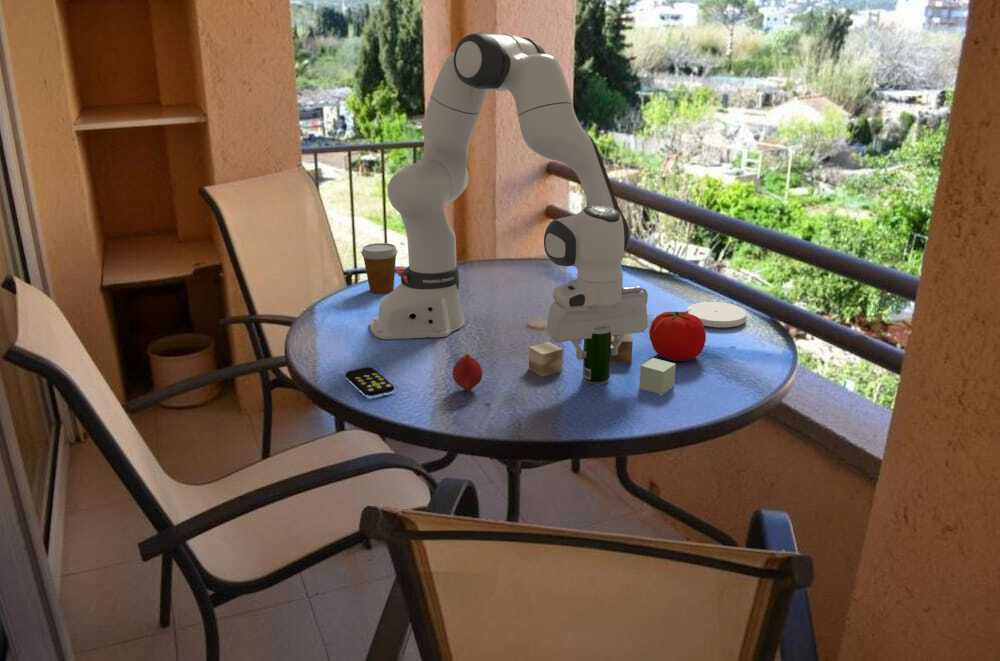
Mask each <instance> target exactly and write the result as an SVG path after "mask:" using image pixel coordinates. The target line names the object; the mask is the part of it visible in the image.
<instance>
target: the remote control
mask: <svg viewBox="0 0 1000 661" xmlns="http://www.w3.org/2000/svg"><path fill="white" fill-rule="evenodd" d="M346 378H347V379H348V380H349V381H351V382H352V383H353V384H354V385H355V386H356V387H357V388H358V389H359V390H361V391H362V392H363V393H364V394H365V395H368V396H375V395H379V394H384V393H389V392H392V391H393V390H394V391H395V386H394V384H392V383H391V382H390V381H389V380H387V379H386V378H385V377H384V376H383V375H382V374H381V373H379V372H378V370H376V369H374V368H373V367H370V366H366V367H361V368H357V369H352V370H348V371H347V372H346V373H345V379H346Z"/></svg>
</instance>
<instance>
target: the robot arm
mask: <svg viewBox="0 0 1000 661" xmlns="http://www.w3.org/2000/svg"><path fill="white" fill-rule="evenodd" d="M567 82H568V81H567V79H566V77H565V74H564V71H563V68H562V66H561V64H560V62H559V61H558V59H557V58H556V57H554V56H553V55H551V54H547V53H546V51H545V49H544V48H543V47H542V46H541V45H540V44H539V43H537V41H535V40H533V39H531V38H528V37H524V36H523V37H521V36H517V35H515V34H509V33H487V32H474V33H470V34H468V35H466V36H464V37H463V38H462V39H460V40H459V41H458V43H457V45H456V47H455V49H454V51H453V52H451V53H450V54H449V55H447V58H446V59H445V61H444V63H443V65H442V67H441V69H440V70H439V73H438V75H437V78H436V81H435V82H434V85H433V88H432V92H431V93H430V98H429V100H428V104H427V107H426V110H425V114H424V118H423V120H422V124H421V133H422V136H423V137H424V138H423V139H424V140H423V153H422V156H421V158H420V159H419V161H418V162H415V163H411V164H408V165H406V166H404V167H402V168H401V169H399V170H398V171H397V172H396V173H395V174H394V175H393V176H392V177H391V178H390V180H389V181H388V184H387V196H388V197H387V198H388V201H389V202H390V204H391V206H392V207H393V209H394V210H396V211H397V212H398V213H399V215H400V218H401V220H402V222H403V226H404V230H405V233H406V240H407V241H406V242H407V254H408V266H407V267H406V268H404V267H403V266H398V267H397V268H395V271H396V272H395V273H396V274H397V276H398V277H400V284H399V285H397V287H394V290H393V291H392V292H390V293H387V294H386V295H385V296H384V297H383V298H382V300H381V301H380V304H379V309H378V315H377V316H373V318H371V320H370V321H369V330H370V332H371V334H373V335H374V336H375V337H376V338H378V339H381V340H401V339H402V340H404V339H405V340H406V339H424V338H425V339H426V337H430V338H443V337H448V336H449V335H451V333H453V332H454V331H456V330H460V329H461V328H463V326H464V325H465V324H466V321H465V318H464V315H463V311H462V308H461V302H460V295H459V290H460V289H459V287H460V271H459V266H458V265H457V241H456V237H457V236H456V233H455V231H454V229H452V228H451V227H450V225H449V222H448V219H447V214H446V212H445V206H446V205H447V204H449V203H451V202H454V201H455V200H457V199H458V198H459V197H460V196H461V195H462V193H464V191H465V190H466V189H467V187H468V185H469V170H468V168H467V165H468V164H467V163H468V156H469V149H470V148H469V147H470V144H471V142H472V138H473V134H474V131H475V128H476V125H477V122H478V119H479V116H480V112H481V110H482V106H483V104H484V100H485V98H486V95H487V94H488V93H489V91H495V92H496V91H497V92H505V91H509V92H510V94H511V95H512V97H513V99H514V103H515V108H516V113H517V118H518V123H519V128H520V132H521V135H522V138H523V140H524V143H525V145H526V147H528V148H529V149H530V150H531V151H532V152H534V153H536V155H538V156H541V157H543V158H546V159H549V160H552V161H556V162H558V163H560V164H563V165H564V166H566V167H568V168H570V169H571V170H573V172H574V173H575V175H576V176H577V177H578V180H579V181H580V184H581V185H580V186H581V187H582V190H583V192H584V196H585V198H586V201H587V204H588V205H587V206H585V207H583V208H582V209H581V210H580V211H579V212H577V213H575V214H573V215H572V214H571V215H570V216H564V217H560V218H557V219H554V220H552V221H550V223H549V224H548V225H547V227H546V228H545V232H544V235H543V236H544V237H543V248H544V252H545V254H546V256H547V257H548V259H550V261H551V262H553V263H554V264H555V265H557V266H561V267H574V268H576V270H577V272H576V273H577V274H576V278H575V279H573V280H571V281H569V282H566V283H565V284H562V285H560V286H556V287H555V288H554V289H553V290H552V298H553V299H554V300H555V301H553V302H552V303H551V305H550V306H549V310H548V316H547V328H546V329H547V335H548V337H550V339H552V340H553V342H555V343H563V342H564V343H565V342H571V343H572V345H573V347H574V349H576V350H575V351H576V352H575V353H576V354H575V356H576V358H577V360H579V361H581V360H583V359H586V353H587V351H586V350H584V347H582V348H581V345H582V344H583V342H582V341H583V340H584V339H590V338H592V333H593V331H594V328H600V327H604V328H605V327H608V326H610V328H609V329H610V330H611V336H614V337H615V338H614V340H613V342H612V344H611V356H613V355H617V354H618V347H619V346H620V344H621V342H622V341H623V339H624V334H631V335H632V334H640V333H644V332H645V331H646V330H647V328H648V309H647V304H648V296H649V295H648V294H649V293H648V291H647V290H646V289H645V288H643V287H642V286H634V287H623V279H624V278H623V277H624V275H623V273H624V272H623V270H622V263H623V258H624V256H625V251H626V250H627V248H628V246H629V243H630V240H631V231H630V226H629V223H628V221H627V219H626V217H625V215H624V214H623V212H622V210H621V208H620V205H619V204H618V201H617V198H616V195H615V192H614V190H613V187H612V184H611V181H610V178H609V175H608V172H607V170H606V167H605V164H604V162H603V159H602V155H601V153H600V150H599V148H598V146H597V144H596V142H595V140H594V139H593V137H592V136H591V135H589V134H588V133H586V131H585V130H584V128H583V126H582V125H581V123H580V121H579V119H578V117H577V115H576V112H575V109H574V104H573V100H572V96H571V91H570V89H569V85H568V83H567Z"/></svg>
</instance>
